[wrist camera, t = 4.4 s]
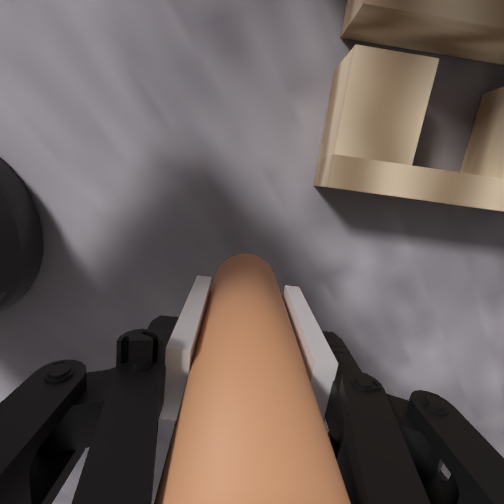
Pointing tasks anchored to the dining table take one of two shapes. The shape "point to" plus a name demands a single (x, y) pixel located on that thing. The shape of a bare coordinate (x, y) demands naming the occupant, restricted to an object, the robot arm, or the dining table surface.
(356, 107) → the socket awning
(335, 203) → the dining table surface
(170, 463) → the peg
